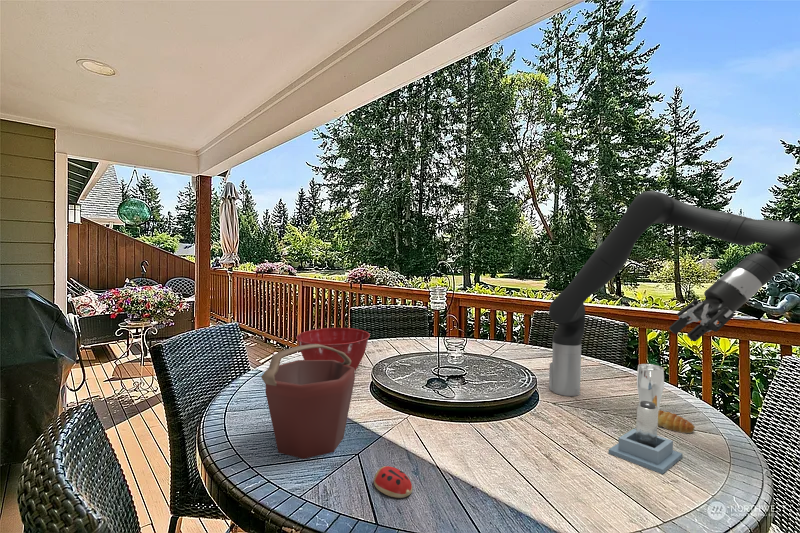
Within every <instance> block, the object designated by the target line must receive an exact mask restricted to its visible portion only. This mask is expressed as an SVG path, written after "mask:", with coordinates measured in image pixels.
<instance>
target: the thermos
mask: <svg viewBox="0 0 800 533" xmlns="http://www.w3.org/2000/svg"><path fill="white" fill-rule="evenodd" d="M636 405H637V408H636V422H635V424H636V427H635V429H636V441H635V442H638V443H641V444H644V445H647V446H650V447H653V448H656V447H657V436H658V427H659V426H658V407H656V404H655V403H653V402H649V401H641V402H640V403H637V404H636Z"/></svg>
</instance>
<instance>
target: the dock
mask: <svg viewBox="0 0 800 533" xmlns="http://www.w3.org/2000/svg"><path fill="white" fill-rule="evenodd" d="M635 441H636V427H635V428H633V429H631V430H629V431H627V432H626V433H624V434H623V435H621V436H619V437H618V443H616V444H615V445H613V446H612V447H610V448H609V449H608V452H607V454H609V455H611V456H614V457H616V458H620V459H622V460H625V461H628V462H630V463H632V464H635V465H638V466H640V467H643V468H646V469H648V470H651V471H653V472H656V473H657V474H661V475H664V474H665V473H666V472H667V471H669V470H670V468H672V467H673V466H674V465H675V464H677V463H678V462H679V461H680V460H681V459H683V456H684V455H683V453H682V452H679V451H676V450H673V449H674V440H672V439H668V438H666V437H663V436H659V435H657V447H656V448H653V447H650V446H647V445H644V444H641V443H638V442H635Z"/></svg>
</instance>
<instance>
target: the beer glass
mask: <svg viewBox="0 0 800 533" xmlns="http://www.w3.org/2000/svg"><path fill="white" fill-rule="evenodd" d="M664 369H665V368H664V367H662V366H661V365H660V366H659V365H656V364H651V363H641V364H640V363H639V364H638V365H637V372H636V389H637V394H638V402H639V403H640V402H641V401H649V402H653V403H655V404H656V407H658V411H659V410H661V401H662V398H663V397H662V395H663V393H664V387H665V373H664ZM639 403H638V404H639Z"/></svg>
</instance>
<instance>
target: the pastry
mask: <svg viewBox="0 0 800 533" xmlns="http://www.w3.org/2000/svg"><path fill="white" fill-rule="evenodd" d="M658 427H660V428H661V427H663V428H664V429H666V430H669V431H674V432H678V433H684V434H685V433H686V434H692V433H693V432H694V431H695V427H696V426H695V425H694V424H693V423H691V422H690V421H689V420H687V419H686V418H684V417H682V416H680V415H677V413H672V412H671V411H664V410H661V409H660V410H659V411H658Z"/></svg>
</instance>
